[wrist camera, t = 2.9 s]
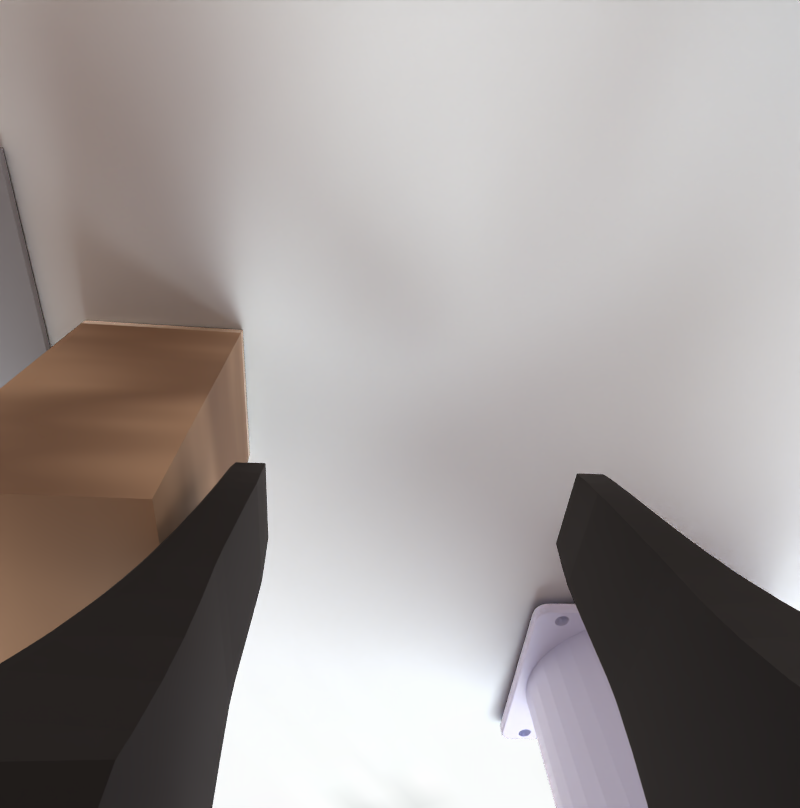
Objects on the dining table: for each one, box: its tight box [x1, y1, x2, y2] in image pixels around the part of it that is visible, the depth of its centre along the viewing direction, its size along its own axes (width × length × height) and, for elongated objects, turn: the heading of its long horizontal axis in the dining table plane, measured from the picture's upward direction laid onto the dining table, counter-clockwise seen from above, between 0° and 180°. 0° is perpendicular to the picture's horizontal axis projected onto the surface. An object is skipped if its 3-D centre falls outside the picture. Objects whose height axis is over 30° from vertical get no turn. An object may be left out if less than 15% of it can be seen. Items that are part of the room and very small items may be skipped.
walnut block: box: [0, 320, 250, 663], centre depth 12 cm, size 4×4×7 cm
